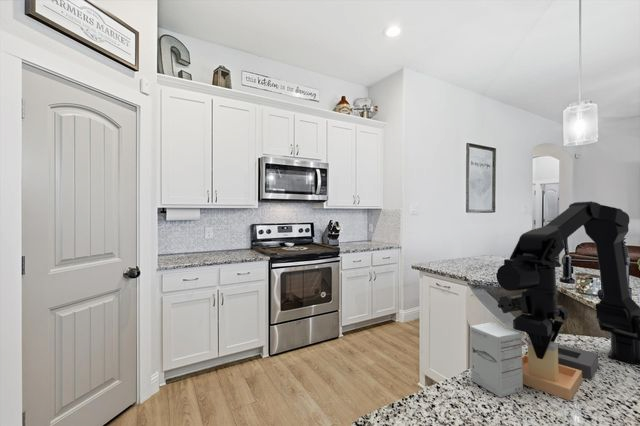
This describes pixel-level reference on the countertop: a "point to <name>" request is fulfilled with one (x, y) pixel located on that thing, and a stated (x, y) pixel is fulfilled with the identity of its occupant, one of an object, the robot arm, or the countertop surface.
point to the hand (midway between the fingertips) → (543, 355)
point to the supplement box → (496, 358)
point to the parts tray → (561, 388)
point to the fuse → (544, 363)
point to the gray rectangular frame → (578, 360)
